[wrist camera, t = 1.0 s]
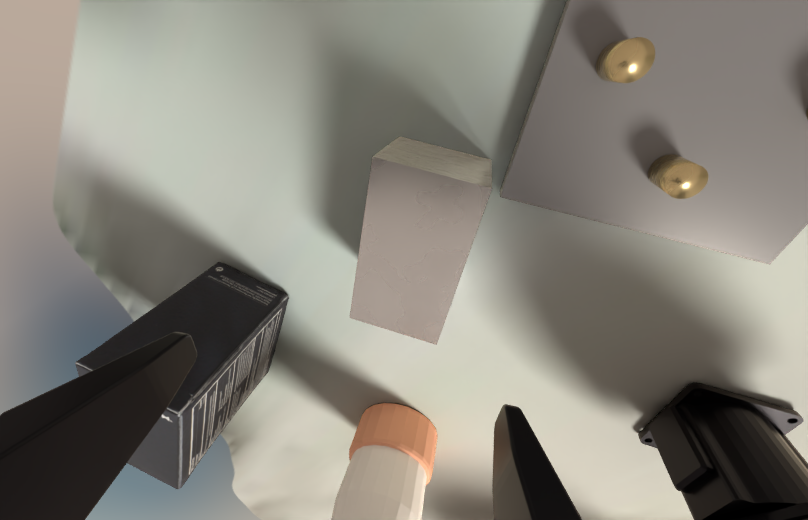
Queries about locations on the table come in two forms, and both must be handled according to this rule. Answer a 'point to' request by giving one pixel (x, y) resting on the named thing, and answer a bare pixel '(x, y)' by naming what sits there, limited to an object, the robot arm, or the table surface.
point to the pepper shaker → (387, 466)
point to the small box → (202, 363)
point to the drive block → (417, 235)
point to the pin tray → (674, 122)
